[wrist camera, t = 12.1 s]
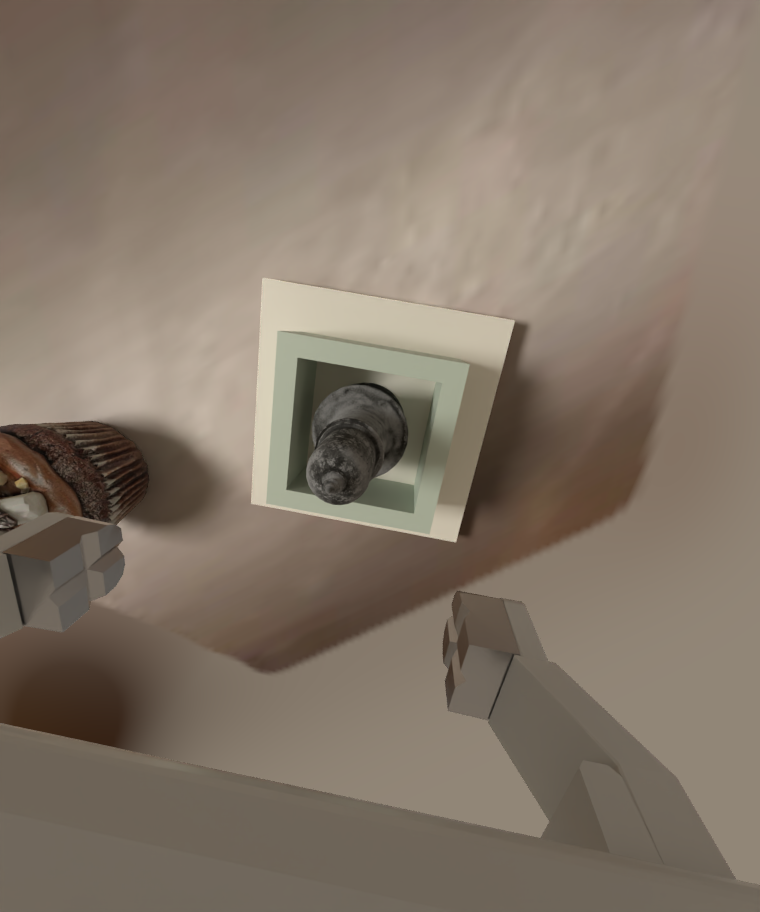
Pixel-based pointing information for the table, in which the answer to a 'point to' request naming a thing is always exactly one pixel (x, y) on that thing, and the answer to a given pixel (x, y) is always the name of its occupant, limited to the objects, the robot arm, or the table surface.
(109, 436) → the cupcake
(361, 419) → the dark chess piece
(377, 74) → the table surface
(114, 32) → the table surface
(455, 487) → the stand
